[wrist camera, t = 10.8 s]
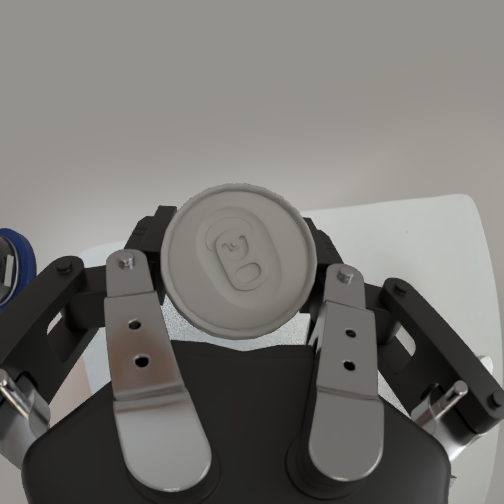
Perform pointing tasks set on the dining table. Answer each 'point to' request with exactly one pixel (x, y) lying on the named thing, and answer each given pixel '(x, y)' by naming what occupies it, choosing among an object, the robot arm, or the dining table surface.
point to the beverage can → (238, 261)
